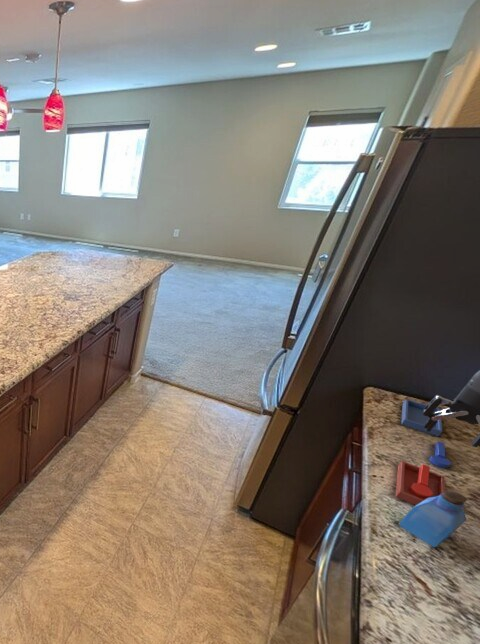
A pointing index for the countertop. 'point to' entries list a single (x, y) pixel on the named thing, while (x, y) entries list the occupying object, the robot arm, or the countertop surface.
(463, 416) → the robot arm
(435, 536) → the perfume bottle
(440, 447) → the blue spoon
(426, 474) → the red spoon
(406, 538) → the countertop surface
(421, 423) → the blue tray
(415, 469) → the red tray
